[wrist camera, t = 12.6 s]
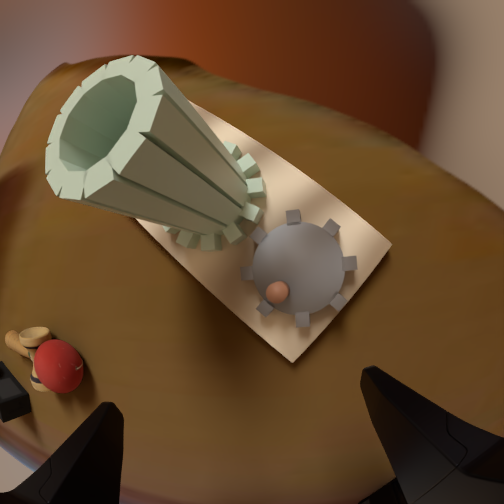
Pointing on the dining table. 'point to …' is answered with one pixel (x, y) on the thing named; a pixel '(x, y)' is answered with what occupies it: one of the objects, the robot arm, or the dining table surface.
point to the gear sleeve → (151, 157)
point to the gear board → (274, 216)
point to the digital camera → (12, 396)
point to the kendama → (48, 359)
